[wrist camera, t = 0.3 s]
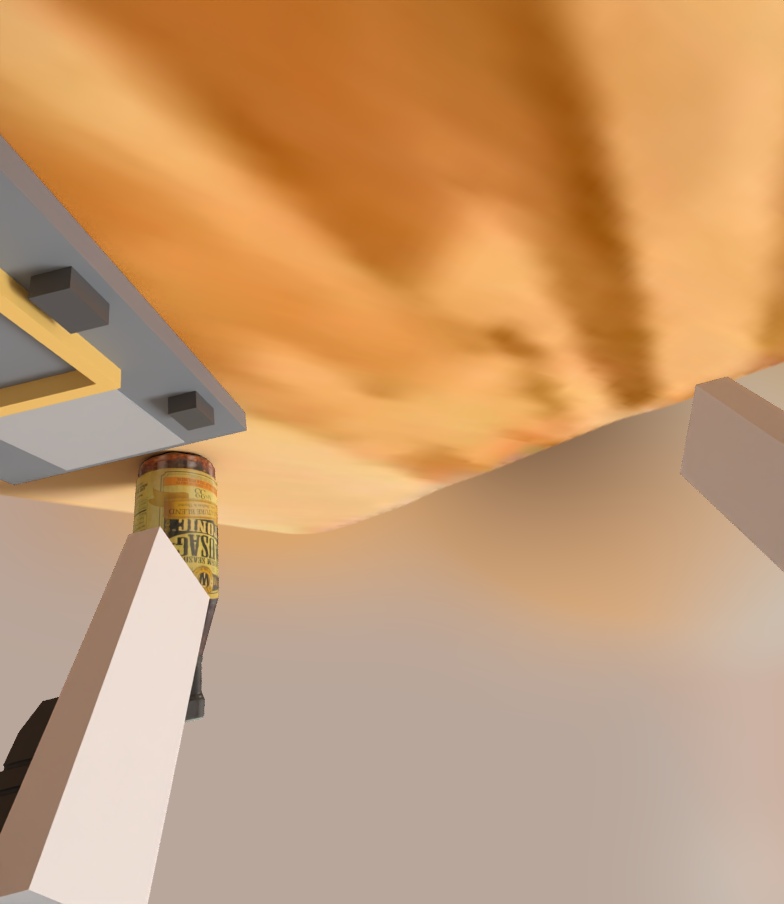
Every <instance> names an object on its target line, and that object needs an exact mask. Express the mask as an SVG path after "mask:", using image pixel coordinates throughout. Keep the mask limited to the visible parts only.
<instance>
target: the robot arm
mask: <svg viewBox="0 0 784 904" xmlns="http://www.w3.org/2000/svg"><path fill="white" fill-rule="evenodd" d="M680 474H681V475H682V476H683V477H684V478H685V479H686V480H687V481H688V482H689V483H690V484H691V485H692V486H693V487H695V488H696V489H697V490H698V491H699V492H700V493H701V494H702V495H703V496H704V497H705V498H706V499H707V500H708V501H709V502H710V503H711V504H713V505H714V506H715V507H716V508H717V509H718V510H719V511H720V512H721V513H722V514H723V515H724V516H725V517H726V518H727V519H728V520H729V521H731V522H732V523H733V524H734V525H735V526H736V527H737V528H738V529H739V530H740V531H741V532H742V533H743V534H744V535H745V536H746V537H747V538H748V539H749V540H751V541H752V542H753V543H754V544H755V545H756V546H757V547H758V548H759V549H760V550H761V551H762V552H763V553H764V554H765V555H766V556H767V557H768V558H770V559H771V560H772V561H773V562H774V563H775V564H776V565H777V566H778V567H779V568H780V569H781V570H782V571H783V572H784V411H783V410H781V409H779V408H778V407H776V406H774V405H773V404H771V403H770V402H768V401H766V400H765V399H763V398H762V397H760V396H758V395H757V394H755V393H753V392H752V391H750V390H748V389H747V388H745V387H743V386H742V385H740V384H739V383H737V382H735V381H734V380H732V379H730V378H729V377H724V378H720V379H716V380H712V381H709V382H705V383H701V384H697V385H696V387H695V392H694V398H693V404H692V409H691V415H690V420H689V426H688V432H687V437H686V443H685V449H684V455H683V460H682V465H681V471H680ZM209 599H210V597H209V596H208V594H207V593H206V591H205V590H204V588H203V587H202V586H201V584H200V583H199V581H198V580H197V578H196V577H195V576H194V574H193V573H192V571H191V570H190V568H189V567H188V566H187V564H186V563H185V561H184V560H183V558H182V557H181V556H180V554H179V553H178V551H177V550H176V548H175V547H174V546H173V544H172V543H171V541H170V540H169V538H168V537H167V536H166V534H165V533H164V531H163V530H162V528H161V527H160V526H159V527H155V528H151V529H147V530H143V531H140V532H136V533H132V534H129V535H128V538H127V540H126V542H125V544H124V547H123V549H122V551H121V554H120V556H119V559H118V561H117V563H116V566H115V568H114V570H113V572H112V575H111V577H110V579H109V582H108V584H107V587H106V589H105V591H104V593H103V596H102V598H101V600H100V603H99V605H98V607H97V610H96V612H95V614H94V617H93V619H92V621H91V624H90V626H89V628H88V631H87V633H86V635H85V638H84V640H83V642H82V645H81V647H80V649H79V652H78V654H77V657H76V659H75V661H74V663H73V666H72V668H71V671H70V673H69V675H68V677H67V680H66V682H65V685H64V687H63V689H62V691H61V694H60V696H59V697H57V698H54V699H50V700H46V701H42V703H41V704H40V705H39V707H38V708H37V709H36V711H35V712H34V713H33V714H32V716H31V717H30V718H29V720H28V721H27V722H26V724H25V725H24V726H23V728H22V729H21V730H20V732H19V733H18V735H17V737H16V739H15V742H14V744H13V746H12V748H11V750H10V752H9V754H8V756H7V759H6V761H5V763H4V771H2V772H0V904H148V899H149V894H150V889H151V884H152V879H153V874H154V869H155V865H156V859H157V855H158V850H159V845H160V840H161V835H162V830H163V825H164V820H165V815H166V810H167V806H168V800H169V796H170V791H171V785H172V780H173V776H174V771H175V766H176V761H177V756H178V751H179V746H180V741H181V736H182V732H183V726H184V722H185V717H186V712H187V707H188V702H189V697H190V692H191V687H192V682H193V677H194V673H195V668H196V663H197V658H198V653H199V648H200V643H201V638H202V633H203V628H204V623H205V618H206V613H207V608H208V604H209Z"/></svg>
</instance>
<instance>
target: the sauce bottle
mask: <svg viewBox="0 0 784 904" xmlns="http://www.w3.org/2000/svg"><path fill="white" fill-rule="evenodd" d="M159 526H160V527H161V528H162V530H163V531H164V533H165V534H166V536H167V537H168V538H169V540H170V541H171V543H172V544H173V546H174V547H175V548H176V550H177V551H178V553H179V554H180V556H181V557H182V558H183V560H184V561H185V563H186V564H187V566H188V567H189V568H190V570H191V571H192V573H193V574H194V576H195V577H196V578H197V580H198V581H199V583H200V584H201V586H202V587H203V588H204V590H205V591H206V593H207V594H208V596H209V597H210V599H209V604H208V608H207V613H206V618H205V623H204V628H203V633H202V638H201V643H200V648H199V653H198V658H197V663H196V668H195V673H194V677H193V682H192V687H191V692H190V697H189V702H188V707H187V712H186V717H185V722H189V721H194V720H199V719H201V718H203V716H204V706H205V704H204V703H205V701H204V700H205V699H204V697H203V694H202V691H201V682H202V680H201V662H202V655H203V651H204V648H205V644H206V640H207V636H208V633H209V630H210V626H211V622H212V619H213V615H214V611H215V608H216V604H217V600H218V597H219V593H218V591H219V587H218V581H219V580H218V579H219V578H218V528H217V527H218V525H217V483H216V479H215V469H214V467H213V465H212V464H211V462H210V461H208V460H207V459H206V458H203V457H202V456H197V455H190V454H183V453H175V452H172V453H166V454H164V455H160V456H156V457H152V458H150V459H148V460H146V461H145V462H143V463H142V465H141V467H140V470H139V474H138V479H137V481H136V493H135V511H134V525H133V533H136V532H140V531H143V530H147V529H151V528H155V527H159Z"/></svg>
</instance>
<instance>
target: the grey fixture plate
mask: <svg viewBox="0 0 784 904" xmlns="http://www.w3.org/2000/svg"><path fill="white" fill-rule="evenodd" d="M246 430H247V429H246V417H245V412H244V411H243V410H242V409H241V407H240V406H239V405H238V404H237V403H236V402H235V401H234V399H233V398H232V397H231V396H230V395H229V394H228V393H227V392H226V390H225V389H224V388H223V387H222V386H221V385H220V384H219V382H218V381H217V380H216V379H215V378H214V377H213V376H212V374H211V373H210V372H209V371H208V370H207V369H206V368H205V367H204V365H203V364H202V363H201V362H200V361H199V360H198V359H197V357H196V356H195V355H194V354H193V353H192V352H191V351H190V350H189V348H188V347H187V346H186V345H185V344H184V343H183V342H182V340H181V339H180V338H179V337H178V336H177V335H176V334H175V332H174V331H173V330H172V329H171V328H170V327H169V326H168V325H167V323H166V322H165V321H164V320H163V319H162V318H161V317H160V315H159V314H158V313H157V312H156V311H155V310H154V309H153V308H152V306H151V305H150V304H149V303H148V302H147V301H146V300H145V298H144V297H143V296H142V295H141V294H140V293H139V292H138V290H137V289H136V288H135V287H134V286H133V285H132V284H131V283H130V281H129V280H128V279H127V278H126V277H125V276H124V275H123V273H122V272H121V271H120V270H119V269H118V268H117V267H116V265H115V264H114V263H113V262H112V261H111V260H110V259H109V258H108V256H107V255H106V254H105V253H104V252H103V251H102V250H101V248H100V247H99V246H98V245H97V244H96V243H95V242H94V241H93V239H92V238H91V237H90V236H89V235H88V234H87V233H86V231H85V230H84V229H83V228H82V227H81V226H80V225H79V223H78V222H77V221H76V220H75V219H74V218H73V217H72V216H71V214H70V213H69V212H68V211H67V210H66V209H65V208H64V206H63V205H62V204H61V203H60V202H59V201H58V200H57V199H56V197H55V196H54V195H53V194H52V193H51V192H50V191H49V189H48V188H47V187H46V186H45V185H44V184H43V183H42V181H41V180H40V179H39V178H38V177H37V176H36V175H35V174H34V172H33V171H32V170H31V169H30V168H29V167H28V166H27V164H26V163H25V162H24V161H23V160H22V159H21V158H20V157H19V155H18V154H17V153H16V152H15V151H14V150H13V149H12V147H11V146H10V145H9V144H8V143H7V142H6V141H5V139H4V138H3V137H2V136H1V135H0V480H2V481H5V482H8V483H10V484H13V485H17V484H21V483H26V482H30V481H34V480H38V479H42V478H47V477H51V476H55V475H59V474H64V473H68V472H72V471H76V470H81V469H85V468H89V467H93V466H98V465H102V464H106V463H110V462H115V461H119V460H123V459H127V458H132V457H136V456H140V455H144V454H148V453H153V452H157V451H161V450H165V449H170V448H174V447H178V446H182V445H187V444H191V443H195V442H199V441H204V440H208V439H212V438H216V437H221V436H225V435H229V434H233V433H238V432H242V431H246Z"/></svg>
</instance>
